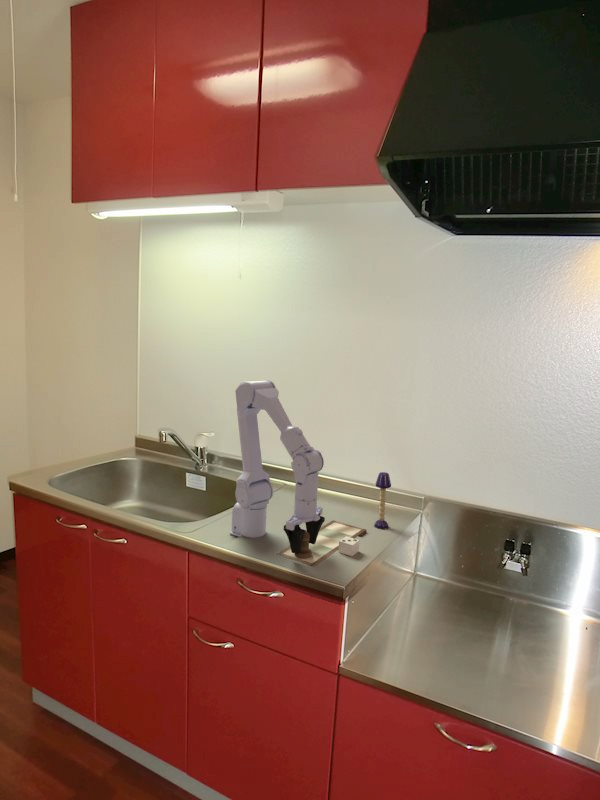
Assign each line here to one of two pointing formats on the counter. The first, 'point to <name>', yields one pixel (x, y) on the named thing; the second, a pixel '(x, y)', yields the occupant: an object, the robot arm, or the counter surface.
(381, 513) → the toy lamp
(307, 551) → the pawn
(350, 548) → the die
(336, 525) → the game board
